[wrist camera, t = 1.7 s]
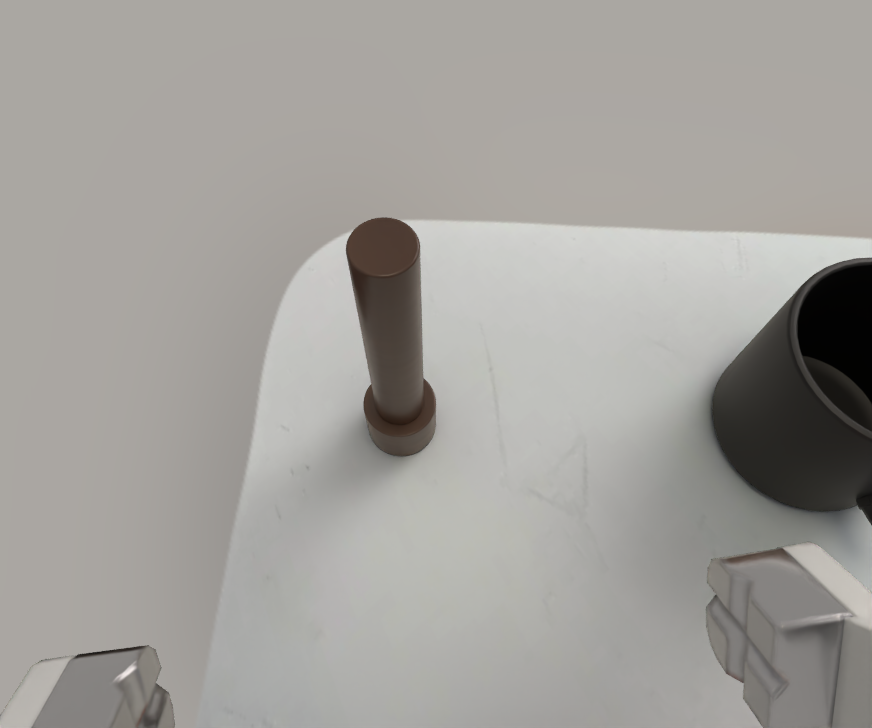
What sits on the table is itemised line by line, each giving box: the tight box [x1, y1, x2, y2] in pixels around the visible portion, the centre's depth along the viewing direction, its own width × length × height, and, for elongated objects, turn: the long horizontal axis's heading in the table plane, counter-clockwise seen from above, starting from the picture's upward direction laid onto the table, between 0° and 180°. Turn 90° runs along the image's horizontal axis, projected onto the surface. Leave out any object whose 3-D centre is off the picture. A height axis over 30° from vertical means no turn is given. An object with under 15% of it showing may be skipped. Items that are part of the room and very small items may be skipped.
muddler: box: [346, 218, 436, 456], centre depth 29 cm, size 4×4×16 cm
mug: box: [712, 258, 872, 525], centre depth 32 cm, size 9×12×9 cm
